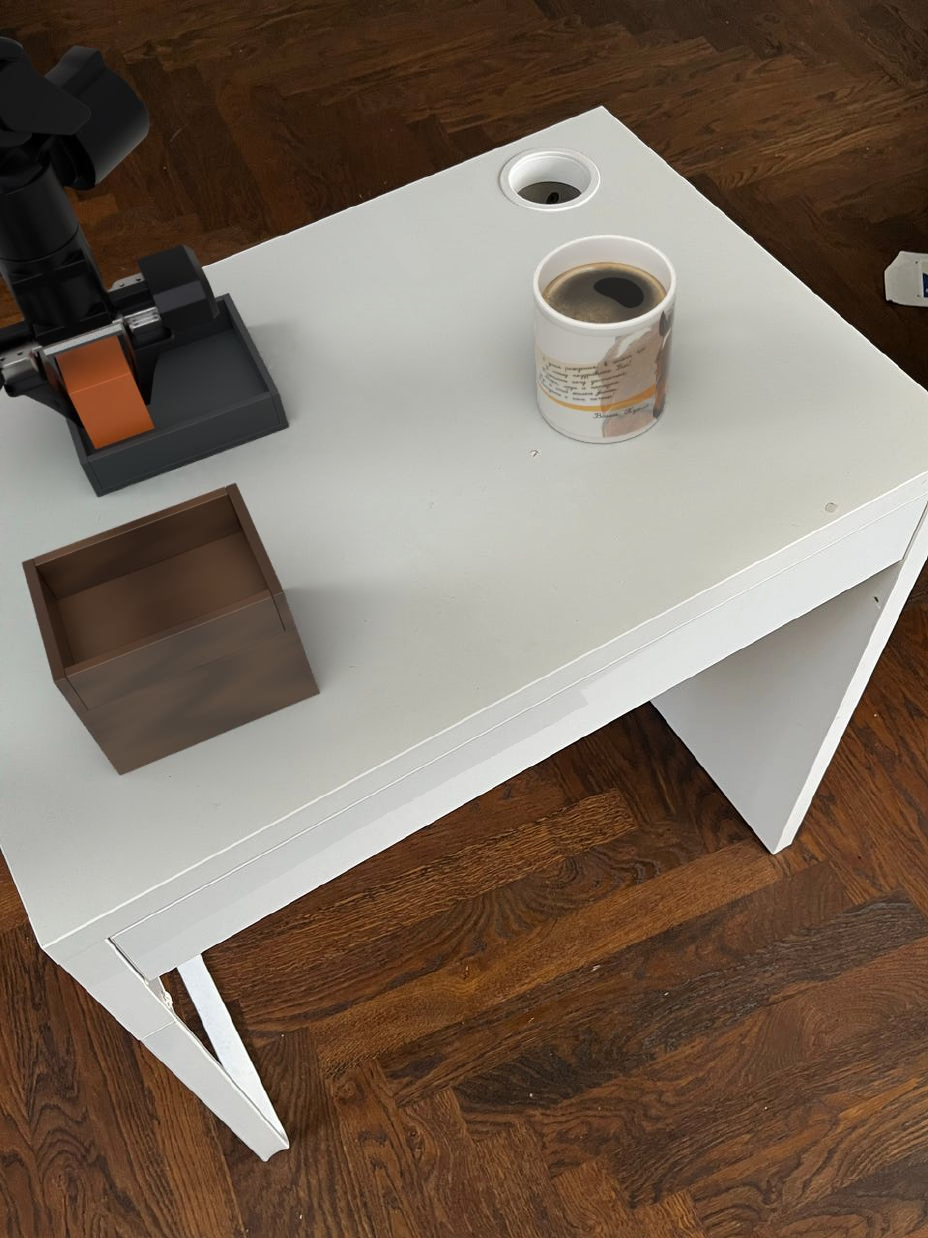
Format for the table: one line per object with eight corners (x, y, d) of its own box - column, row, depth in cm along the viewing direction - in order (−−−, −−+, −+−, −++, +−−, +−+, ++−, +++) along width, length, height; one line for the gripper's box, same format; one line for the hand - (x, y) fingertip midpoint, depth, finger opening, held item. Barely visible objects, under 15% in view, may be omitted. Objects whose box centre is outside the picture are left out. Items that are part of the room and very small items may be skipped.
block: (95, 449, 84) (68, 394, 79) (82, 411, 86) (55, 355, 82) (155, 428, 84) (131, 372, 80) (139, 390, 87) (116, 334, 83)
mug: (506, 384, 89) (498, 266, 80) (630, 319, 92) (635, 198, 83) (588, 464, 83) (589, 347, 74) (717, 392, 86) (733, 271, 77)
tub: (97, 497, 85) (80, 464, 82) (61, 389, 93) (44, 355, 90) (289, 427, 88) (279, 392, 85) (239, 327, 95) (228, 292, 92)
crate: (119, 776, 72) (53, 683, 63) (86, 662, 77) (21, 561, 68) (320, 693, 74) (284, 592, 65) (274, 589, 79) (235, 481, 70)
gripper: (144, 125, 78) (205, 308, 91) (-131, 211, 75) (-28, 388, 88) (188, 212, 72) (247, 395, 85) (-109, 309, 69) (-2, 484, 81)
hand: (115, 412), depth 85 cm, fingers closed on block, 4 cm apart
